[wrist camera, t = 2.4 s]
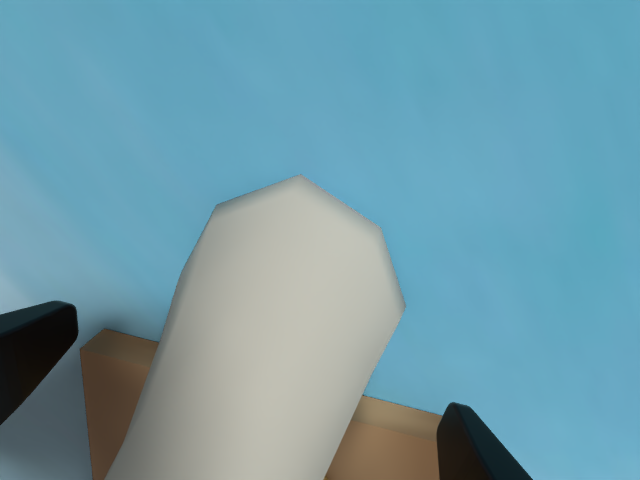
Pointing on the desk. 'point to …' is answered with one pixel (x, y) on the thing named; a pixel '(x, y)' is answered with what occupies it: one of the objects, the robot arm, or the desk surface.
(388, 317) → the flask
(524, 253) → the desk surface
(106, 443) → the gear board
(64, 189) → the desk surface
